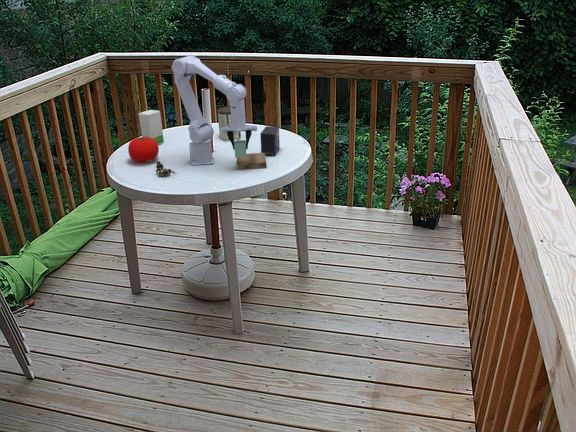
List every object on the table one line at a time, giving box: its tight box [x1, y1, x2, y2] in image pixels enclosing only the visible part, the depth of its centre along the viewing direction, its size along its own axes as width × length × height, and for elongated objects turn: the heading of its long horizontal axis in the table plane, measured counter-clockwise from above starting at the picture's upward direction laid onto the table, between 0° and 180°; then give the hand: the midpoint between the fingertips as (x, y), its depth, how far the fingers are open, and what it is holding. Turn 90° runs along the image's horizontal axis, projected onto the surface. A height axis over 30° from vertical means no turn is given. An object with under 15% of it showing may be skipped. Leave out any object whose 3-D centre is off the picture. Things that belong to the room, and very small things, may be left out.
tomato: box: [127, 136, 160, 164], centre depth 246 cm, size 14×13×10 cm
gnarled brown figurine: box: [155, 160, 176, 178], centre depth 232 cm, size 12×6×11 cm
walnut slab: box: [236, 152, 267, 171], centre depth 240 cm, size 12×12×2 cm
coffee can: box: [216, 106, 242, 142], centre depth 270 cm, size 10×10×14 cm
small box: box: [259, 125, 281, 157], centre depth 251 cm, size 11×6×10 cm, turn 168°
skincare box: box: [138, 109, 165, 146], centre depth 265 cm, size 8×7×16 cm
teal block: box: [234, 139, 247, 159], centre depth 232 cm, size 4×4×6 cm
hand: (240, 148), depth 233 cm, fingers closed on teal block, 5 cm apart
